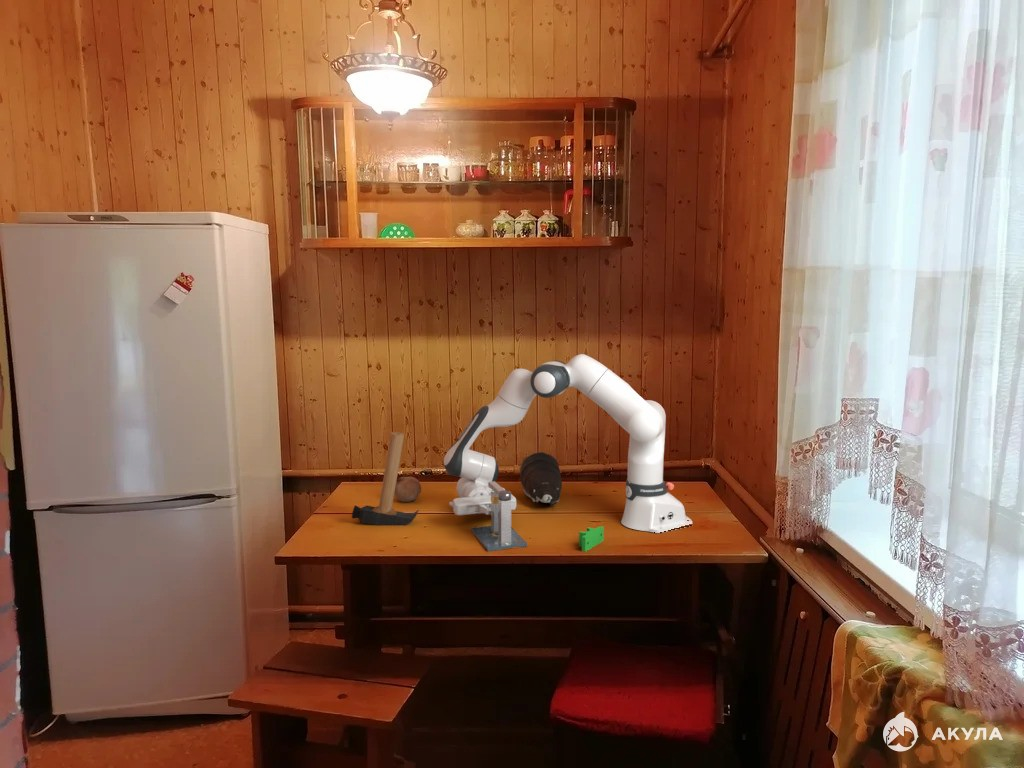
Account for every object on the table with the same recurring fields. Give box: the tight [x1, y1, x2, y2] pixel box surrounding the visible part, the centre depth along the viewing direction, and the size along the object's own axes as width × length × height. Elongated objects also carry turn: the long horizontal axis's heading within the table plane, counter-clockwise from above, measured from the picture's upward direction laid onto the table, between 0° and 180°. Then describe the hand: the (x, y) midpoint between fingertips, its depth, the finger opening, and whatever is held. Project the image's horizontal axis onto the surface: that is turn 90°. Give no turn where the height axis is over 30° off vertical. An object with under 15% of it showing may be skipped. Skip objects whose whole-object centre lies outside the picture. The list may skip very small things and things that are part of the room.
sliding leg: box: [490, 492, 499, 534], centre depth 211 cm, size 3×3×13 cm
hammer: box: [351, 431, 419, 527], centre depth 223 cm, size 20×5×30 cm, turn 89°
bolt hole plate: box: [470, 525, 529, 552], centre depth 211 cm, size 12×18×1 cm, turn 19°
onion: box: [394, 476, 422, 503], centre depth 248 cm, size 10×9×10 cm
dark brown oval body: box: [519, 451, 563, 507], centre depth 247 cm, size 15×15×25 cm
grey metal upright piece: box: [488, 481, 512, 544], centre depth 210 cm, size 4×15×15 cm, turn 19°
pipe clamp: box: [578, 525, 605, 552], centre depth 206 cm, size 11×4×5 cm, turn 145°
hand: (491, 512), depth 217 cm, fingers closed
